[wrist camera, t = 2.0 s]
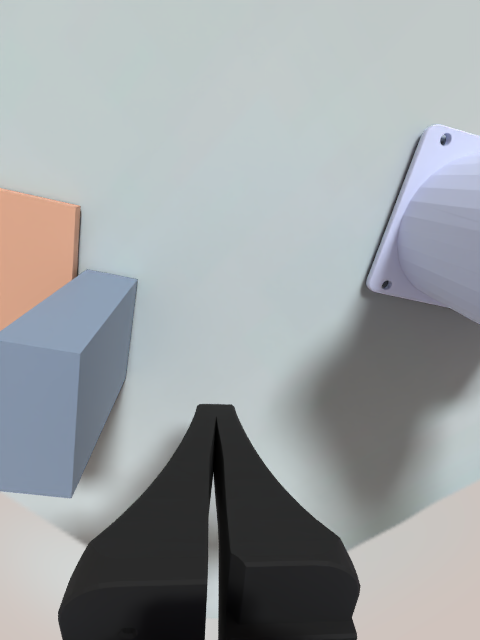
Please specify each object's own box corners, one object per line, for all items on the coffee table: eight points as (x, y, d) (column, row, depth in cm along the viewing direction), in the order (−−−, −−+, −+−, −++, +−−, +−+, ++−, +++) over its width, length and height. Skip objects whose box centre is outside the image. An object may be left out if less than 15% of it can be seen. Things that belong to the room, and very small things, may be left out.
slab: (137, 279, 17) (80, 353, 10) (125, 377, 20) (71, 498, 12) (86, 269, 17) (-11, 338, 10) (80, 370, 19) (-4, 490, 12)
